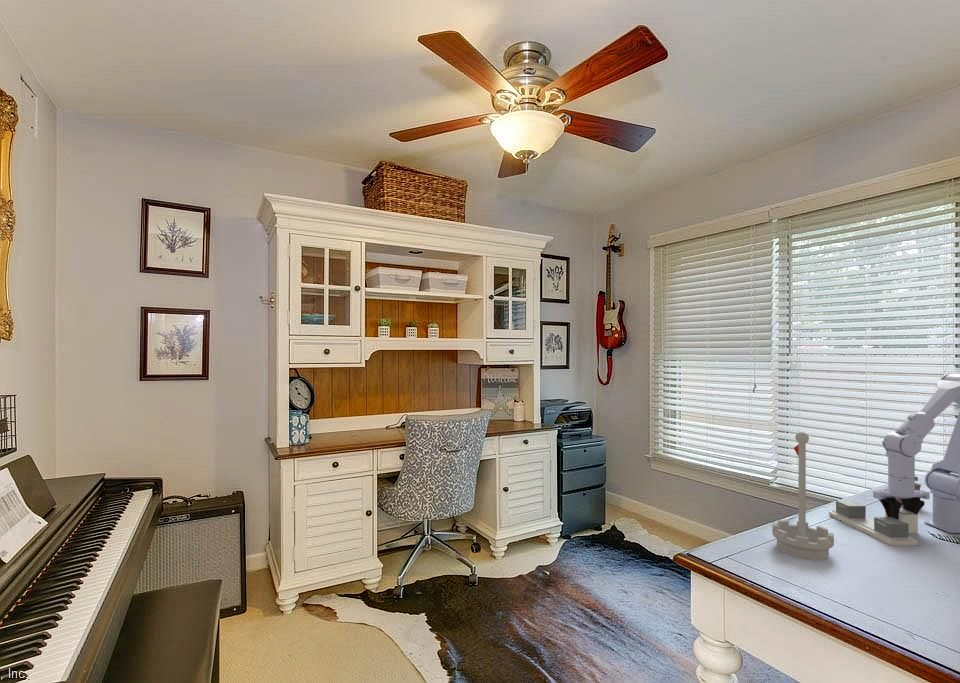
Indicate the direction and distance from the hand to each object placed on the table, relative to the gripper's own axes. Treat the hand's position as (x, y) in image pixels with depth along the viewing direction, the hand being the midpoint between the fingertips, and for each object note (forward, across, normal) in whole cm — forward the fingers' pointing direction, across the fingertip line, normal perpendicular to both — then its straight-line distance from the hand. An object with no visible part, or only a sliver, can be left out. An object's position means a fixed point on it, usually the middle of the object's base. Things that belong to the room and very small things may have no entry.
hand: (901, 524), depth 138 cm
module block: (+1, 0, 0) cm, 1 cm away
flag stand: (+2, +38, +14) cm, 40 cm away
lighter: (+2, -20, -20) cm, 28 cm away
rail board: (+1, +9, 0) cm, 9 cm away
